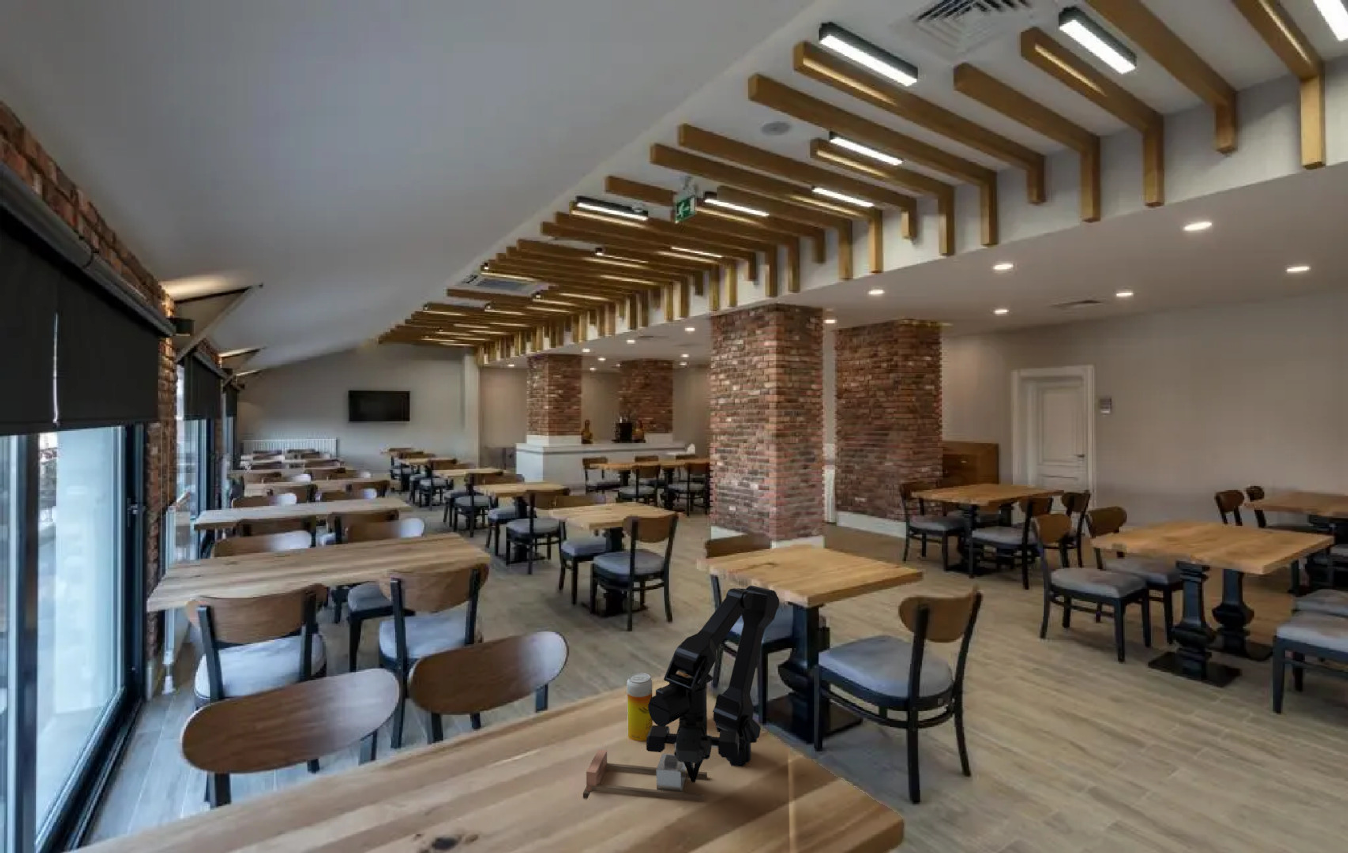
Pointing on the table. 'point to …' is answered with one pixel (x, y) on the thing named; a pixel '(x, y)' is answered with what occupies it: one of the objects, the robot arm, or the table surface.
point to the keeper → (670, 773)
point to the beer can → (638, 706)
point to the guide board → (597, 773)
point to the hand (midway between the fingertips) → (693, 781)
